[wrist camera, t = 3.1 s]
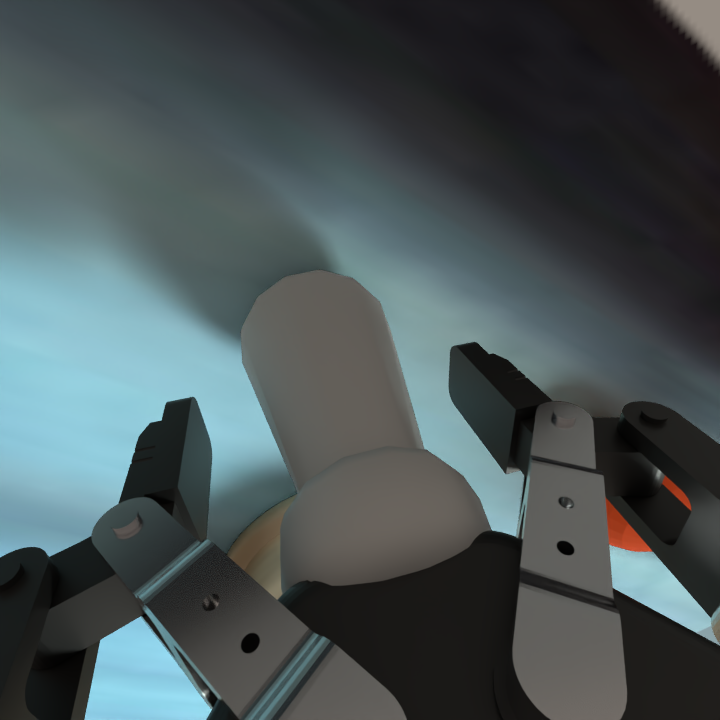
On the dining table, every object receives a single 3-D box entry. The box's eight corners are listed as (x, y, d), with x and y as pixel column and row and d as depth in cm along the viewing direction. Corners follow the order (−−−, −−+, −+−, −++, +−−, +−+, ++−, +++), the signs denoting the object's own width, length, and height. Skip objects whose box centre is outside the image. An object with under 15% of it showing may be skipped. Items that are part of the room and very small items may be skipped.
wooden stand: (466, 449, 25) (512, 516, 21) (455, 600, 33) (486, 670, 29) (185, 516, 22) (173, 610, 18) (250, 662, 30) (251, 750, 26)
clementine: (649, 450, 30) (753, 535, 24) (566, 507, 31) (645, 602, 25) (616, 385, 25) (733, 468, 19) (522, 453, 26) (605, 552, 20)
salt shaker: (388, 346, 20) (565, 621, 9) (278, 395, 20) (322, 734, 9) (346, 230, 17) (538, 441, 6) (214, 288, 17) (162, 611, 6)
